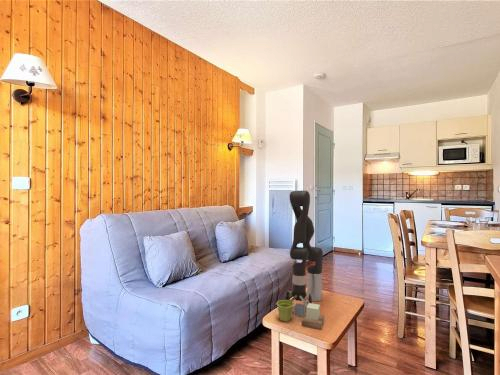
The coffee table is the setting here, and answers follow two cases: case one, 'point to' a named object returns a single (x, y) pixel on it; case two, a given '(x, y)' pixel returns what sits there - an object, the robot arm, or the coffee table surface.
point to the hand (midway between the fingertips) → (299, 310)
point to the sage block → (313, 311)
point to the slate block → (299, 309)
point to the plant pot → (285, 309)
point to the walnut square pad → (313, 322)
